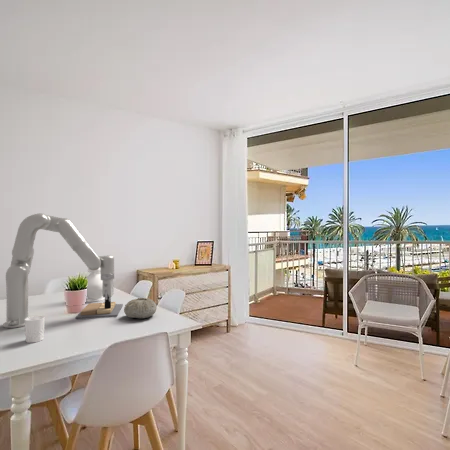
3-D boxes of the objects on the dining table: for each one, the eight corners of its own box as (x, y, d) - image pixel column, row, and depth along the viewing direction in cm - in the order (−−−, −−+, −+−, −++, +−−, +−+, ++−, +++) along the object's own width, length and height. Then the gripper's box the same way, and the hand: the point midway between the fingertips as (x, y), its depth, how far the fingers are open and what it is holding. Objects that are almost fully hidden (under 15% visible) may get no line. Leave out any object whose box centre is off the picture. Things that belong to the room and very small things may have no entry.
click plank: (110, 313, 183) (110, 309, 183) (96, 314, 181) (96, 310, 181) (115, 304, 202) (115, 301, 202) (103, 305, 201) (103, 302, 201)
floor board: (117, 316, 181) (117, 311, 181) (75, 318, 176) (75, 313, 176) (122, 305, 206) (122, 300, 206) (86, 307, 202) (86, 302, 202)
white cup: (48, 337, 147) (48, 315, 147) (38, 343, 140) (38, 320, 140) (30, 337, 147) (30, 315, 147) (20, 343, 139) (20, 320, 139)
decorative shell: (145, 323, 169) (145, 304, 169) (117, 319, 175) (117, 301, 175) (162, 314, 186) (162, 297, 186) (136, 311, 192) (136, 294, 192)
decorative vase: (92, 303, 211) (92, 266, 211) (75, 300, 220) (75, 264, 220) (114, 298, 226) (114, 263, 226) (97, 295, 235) (97, 261, 235)
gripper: (112, 278, 180) (112, 311, 180) (115, 274, 195) (116, 304, 195) (98, 279, 179) (98, 312, 179) (103, 275, 193) (103, 305, 193)
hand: (107, 308), depth 187 cm, fingers closed
